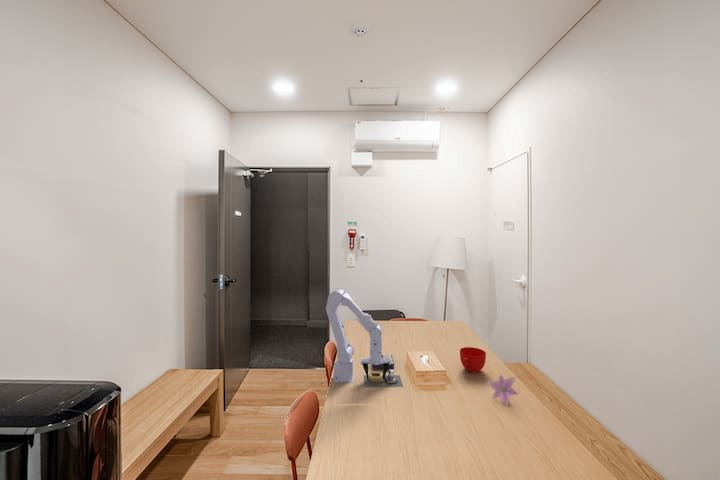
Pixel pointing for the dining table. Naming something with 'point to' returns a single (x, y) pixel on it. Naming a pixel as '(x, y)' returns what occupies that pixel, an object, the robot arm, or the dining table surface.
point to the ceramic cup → (472, 359)
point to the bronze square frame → (375, 377)
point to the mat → (383, 382)
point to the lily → (503, 388)
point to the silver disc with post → (391, 377)
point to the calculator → (380, 366)
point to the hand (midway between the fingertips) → (375, 378)
